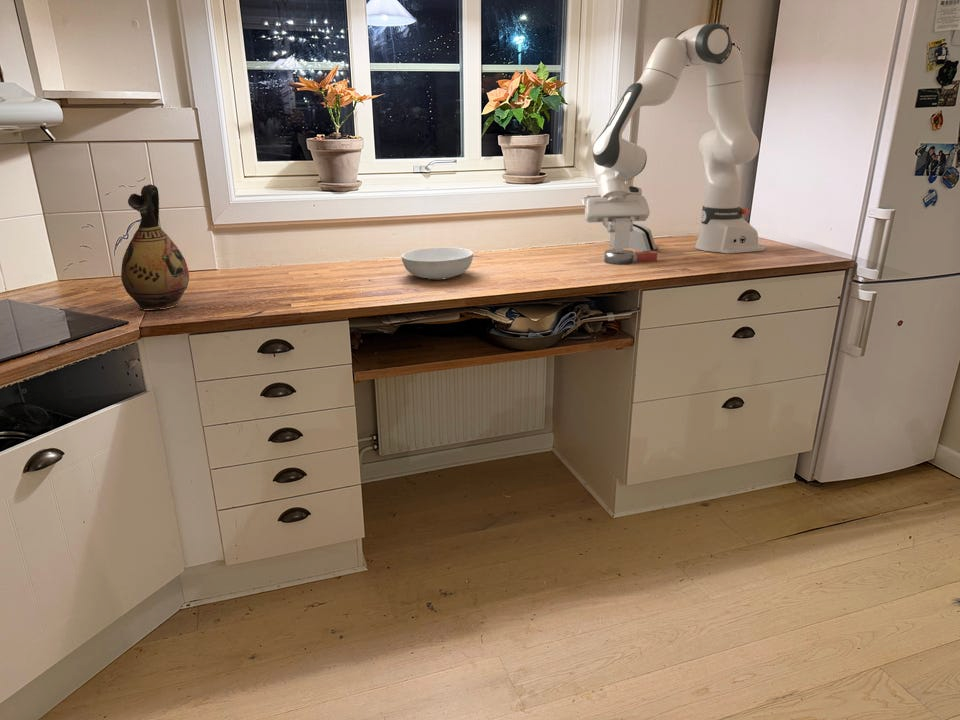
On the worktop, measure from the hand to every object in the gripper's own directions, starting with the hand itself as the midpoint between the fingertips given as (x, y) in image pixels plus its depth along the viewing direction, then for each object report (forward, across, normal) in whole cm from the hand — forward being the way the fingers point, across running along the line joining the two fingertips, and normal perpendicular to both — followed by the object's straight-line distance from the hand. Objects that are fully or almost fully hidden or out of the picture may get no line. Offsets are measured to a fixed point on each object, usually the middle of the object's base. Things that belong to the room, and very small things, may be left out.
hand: (620, 231), depth 212 cm
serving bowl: (+14, -58, +1) cm, 60 cm away
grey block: (+3, 0, +4) cm, 5 cm away
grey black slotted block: (-8, +12, +22) cm, 26 cm away
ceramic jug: (+28, -130, -13) cm, 134 cm away
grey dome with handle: (+6, +4, +7) cm, 10 cm away
